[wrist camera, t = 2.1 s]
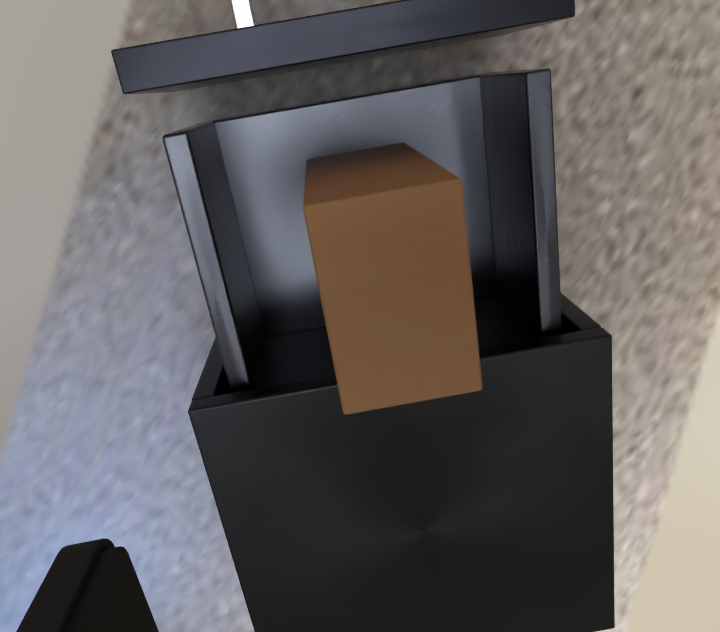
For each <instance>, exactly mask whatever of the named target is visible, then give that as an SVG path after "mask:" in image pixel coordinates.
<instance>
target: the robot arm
mask: <svg viewBox="0 0 720 632" xmlns="http://www.w3.org/2000/svg"><path fill="white" fill-rule="evenodd" d="M16 632H159V631H158V629H157V626H156V624H155V621H154V618H153V616H152V613H151V611H150V608H149V606H148V603H147V600H146V598H145V595H144V593H143V590H142V588H141V585H140V583H139V580H138V577H137V575H136V572H135V570H134V567H133V565H132V562H131V559H130V557H129V554H128V552H127V550H126V549H125V548H124V547H115V546H114V545H113V543H112V542H111V541H110V540H109V539H99V540H94V541H89V542H84V543H78V544H73V545H68V546H65V547H63V548H62V549H61V550H60V552H59V553H58V554H57V556H56V558H55V560H54V562H53V564H52V566H51V568H50V569H49V571H48V573H47V575H46V577H45V579H44V581H43V583H42V584H41V586H40V588H39V590H38V592H37V594H36V596H35V598H34V600H33V601H32V603H31V605H30V607H29V609H28V611H27V613H26V615H25V616H24V618H23V620H22V622H21V624H20V626H19V628H18V630H17V631H16Z"/></svg>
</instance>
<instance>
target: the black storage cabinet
mask: <svg viewBox="0 0 720 632" xmlns="http://www.w3.org/2000/svg"><path fill="white" fill-rule="evenodd" d="M560 299H561V322H562V334H561V335H555V336H549V337H544V338H538V339H533V340H527V341H521V342H516V343H510V344H505V345H499V346H493V347H488V348H482V349H479V357H480V367H481V378H482V390H480V391H475V392H470V393H464V394H458V395H453V396H447V397H442V398H436V399H431V400H425V401H419V402H414V403H408V404H403V405H397V406H391V407H386V408H380V409H375V410H369V411H363V412H358V413H352V414H344V413H343V410H342V405H341V400H340V395H339V390H338V385H337V380H336V375H331V376H325V377H319V378H314V379H308V380H303V381H297V382H291V383H286V384H280V385H275V386H269V387H263V388H258V389H252V390H247V391H241V392H235V393H231V391H230V387H229V384H228V380H227V376H226V372H225V369H224V365H223V361H222V358H221V354H220V350H219V347H218V343H217V339H216V338H215V340H214V343H213V345H212V348H211V351H210V353H209V356H208V358H207V361H206V364H205V366H204V369H203V371H202V374H201V377H200V379H199V382H198V385H197V387H196V390H195V392H194V395H193V398H192V402H191V404H190V407H189V410H188V413H189V416H190V420H191V423H192V426H193V430H194V433H195V436H196V439H197V443H198V446H199V449H200V453H201V456H202V459H203V462H204V466H205V469H206V472H207V476H208V479H209V482H210V486H211V489H212V492H213V495H214V499H215V502H216V505H217V509H218V512H219V515H220V519H221V522H222V525H223V528H224V532H225V535H226V538H227V542H228V545H229V548H230V552H231V555H232V558H233V561H234V565H235V568H236V571H237V575H238V578H239V581H240V585H241V588H242V591H243V594H244V598H245V601H246V604H247V608H248V611H249V614H250V617H251V621H252V624H253V627H254V631H255V632H595V631H601V630H606V629H612V628H614V627H615V624H614V525H613V426H612V336H611V334H609V333H608V332H607V331H606V330H605V329H603V328H601V326H600V325H599V324H598V323H596V322H595V321H594V320H593V319H592V318H590V317H589V316H588V315H587V314H586V313H584V312H583V311H582V310H581V309H580V308H578V307H577V306H576V305H575V304H574V303H573V302H571V301H570V300H569V299H568V298H567V297H565V296H564V295H563V294H562V293H561V292H560Z"/></svg>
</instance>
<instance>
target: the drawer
mask: <svg viewBox="0 0 720 632" xmlns="http://www.w3.org/2000/svg"><path fill="white" fill-rule="evenodd" d="M230 1H231V6H232V10H233V15H234V20H235V24H236V29H231V30H225V31H219V32H213V33H208V34H202V35H196V36H190V37H184V38H178V39H173V40H167V41H161V42H155V43H149V44H143V45H138V46H132V47H126V48H120V49H114V50H112V51H111V53H112V56H113V60H114V63H115V67H116V70H117V74H118V77H119V81H120V84H121V88H122V91H123V93H124V94H139V93H159V92H175V91H181V90H187V89H193V88H198V87H204V86H210V85H216V84H222V83H227V82H233V81H239V80H245V79H251V78H256V77H262V76H268V75H274V74H279V73H285V72H291V71H297V70H303V69H308V68H314V67H320V66H326V65H332V64H337V63H343V62H349V61H355V60H361V59H366V58H372V57H378V56H384V55H389V54H395V53H401V52H407V51H413V50H418V49H424V48H430V47H436V46H442V45H447V44H453V43H459V42H465V41H471V40H476V39H482V38H488V37H494V36H499V35H505V34H509V33H513V32H517V31H521V30H525V29H528V28H532V27H536V26H540V25H544V24H548V23H552V22H555V21H559V20H563V19H567V18H571V17H574V16H575V2H574V0H400V1H394V2H388V3H382V4H376V5H371V6H365V7H359V8H353V9H347V10H341V11H336V12H330V13H324V14H318V15H312V16H306V17H301V18H295V19H289V20H283V21H277V22H272V23H266V24H260V25H256V23H255V18H254V13H253V8H252V3H251V0H230ZM162 139H163V143H164V147H165V150H166V154H167V158H168V161H169V165H170V169H171V173H172V176H173V180H174V184H175V187H176V191H177V195H178V198H179V202H180V206H181V210H182V213H183V217H184V221H185V224H186V228H187V232H188V235H189V239H190V243H191V247H192V250H193V254H194V258H195V261H196V265H197V269H198V273H199V276H200V280H201V284H202V287H203V291H204V295H205V298H206V302H207V306H208V310H209V313H210V317H211V321H212V324H213V328H214V332H215V335H216V339H217V343H218V347H219V350H220V354H221V358H222V361H223V365H224V369H225V372H226V376H227V380H228V384H229V387H230V391H231V393H235V392H241V391H247V390H252V389H258V388H263V387H269V386H275V385H280V384H286V383H291V382H297V381H303V380H308V379H314V378H319V377H325V376H331V375H335V370H334V365H333V359H332V354H331V349H330V344H329V339H328V334H327V329H326V324H325V319H324V314H323V309H322V303H321V298H320V293H319V288H318V283H317V278H316V273H315V268H314V263H313V258H312V253H311V247H310V242H309V237H308V232H307V227H306V222H305V217H304V212H303V202H304V189H305V175H306V162H307V160H308V159H312V158H318V157H324V156H329V155H335V154H341V153H347V152H352V151H358V150H364V149H370V148H375V147H381V146H387V145H392V144H398V143H405V144H407V145H408V146H410V147H412V148H413V149H415V150H416V151H418V152H419V153H421V154H423V155H424V156H426V157H427V158H429V159H431V160H432V161H434V162H435V163H437V164H438V165H440V166H442V167H443V168H445V169H446V170H448V171H450V172H451V173H453V174H454V175H456V176H457V177H459V178H461V180H462V184H463V194H464V204H465V215H466V225H467V235H468V245H469V255H470V266H471V276H472V286H473V296H474V306H475V316H476V327H477V337H478V347H479V349H482V348H488V347H493V346H499V345H505V344H510V343H516V342H521V341H527V340H533V339H538V338H544V337H549V336H555V335H561V334H562V322H561V299H560V275H559V252H558V228H557V205H556V181H555V158H554V134H553V111H552V87H551V70H550V69H534V70H519V71H505V72H491V73H486V74H480V75H474V76H468V77H463V78H457V79H451V80H445V81H440V82H434V83H428V84H422V85H417V86H411V87H405V88H399V89H393V90H388V91H382V92H376V93H370V94H365V95H359V96H353V97H347V98H342V99H336V100H330V101H324V102H318V103H313V104H307V105H301V106H295V107H290V108H284V109H278V110H272V111H267V112H261V113H255V114H249V115H243V116H238V117H232V118H226V119H220V120H215V121H209V122H203V123H198V124H196V125H193V126H190V127H187V128H184V129H181V130H178V131H175V132H172V133H169V134H166V135H164V136H163V138H162Z"/></svg>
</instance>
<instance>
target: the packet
mask: <svg viewBox="0 0 720 632" xmlns="http://www.w3.org/2000/svg"><path fill="white" fill-rule="evenodd" d="M303 212H304V217H305V222H306V227H307V232H308V237H309V242H310V247H311V253H312V258H313V263H314V268H315V273H316V278H317V283H318V288H319V293H320V298H321V303H322V309H323V314H324V319H325V324H326V329H327V334H328V339H329V344H330V349H331V354H332V359H333V365H334V370H335V375H336V380H337V385H338V390H339V395H340V400H341V405H342V410H343V413H344V414H352V413H358V412H363V411H369V410H375V409H380V408H386V407H391V406H397V405H403V404H408V403H414V402H419V401H425V400H431V399H436V398H442V397H447V396H453V395H458V394H464V393H470V392H475V391H480V390H482V378H481V367H480V357H479V347H478V337H477V327H476V316H475V306H474V296H473V286H472V276H471V266H470V255H469V245H468V235H467V225H466V215H465V204H464V194H463V184H462V180H461V178H459V177H457V176H456V175H454V174H453V173H451V172H450V171H448V170H446V169H445V168H443V167H442V166H440V165H438V164H437V163H435V162H434V161H432V160H431V159H429V158H427V157H426V156H424V155H423V154H421V153H419V152H418V151H416V150H415V149H413V148H412V147H410V146H408V145H407V144H405V143H398V144H392V145H387V146H381V147H375V148H370V149H364V150H358V151H352V152H347V153H341V154H335V155H329V156H324V157H318V158H312V159H308V160H307V162H306V175H305V189H304V202H303Z"/></svg>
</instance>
